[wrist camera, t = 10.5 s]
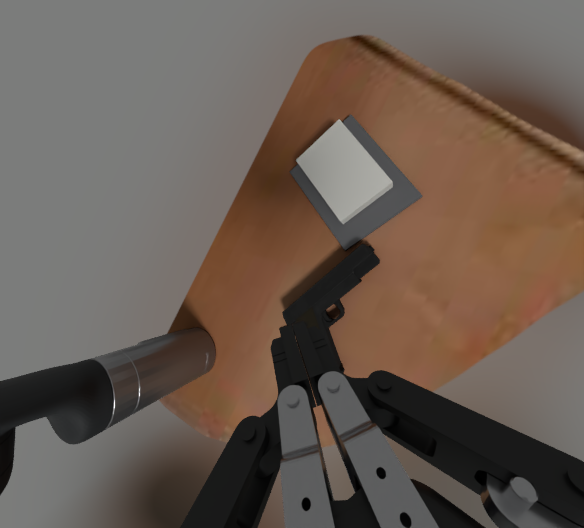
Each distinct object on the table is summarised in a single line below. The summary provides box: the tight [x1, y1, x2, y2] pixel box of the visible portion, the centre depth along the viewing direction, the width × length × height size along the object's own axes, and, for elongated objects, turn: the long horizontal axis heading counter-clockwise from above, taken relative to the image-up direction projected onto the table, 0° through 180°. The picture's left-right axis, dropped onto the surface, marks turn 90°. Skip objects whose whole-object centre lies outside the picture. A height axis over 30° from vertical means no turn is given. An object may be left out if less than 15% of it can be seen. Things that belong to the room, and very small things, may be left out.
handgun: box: [282, 244, 380, 373], centre depth 32 cm, size 3×19×12 cm
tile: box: [296, 119, 393, 224], centre depth 32 cm, size 2×8×12 cm
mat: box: [290, 115, 422, 251], centre depth 33 cm, size 16×12×1 cm
